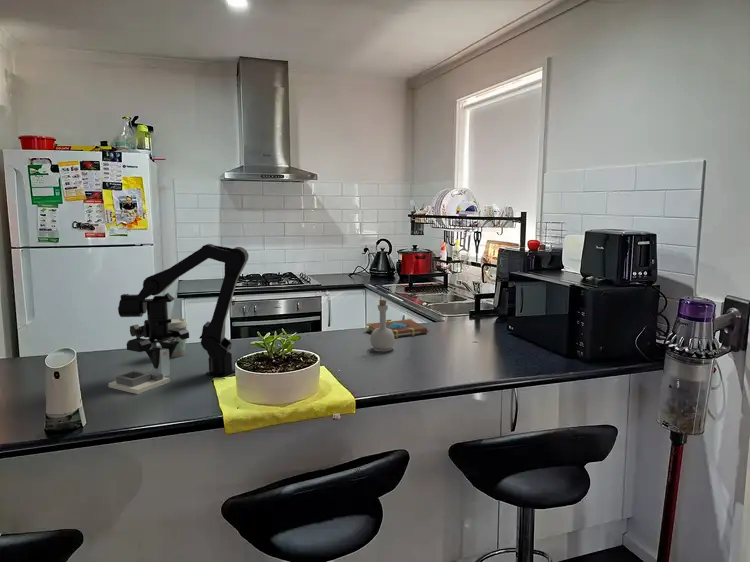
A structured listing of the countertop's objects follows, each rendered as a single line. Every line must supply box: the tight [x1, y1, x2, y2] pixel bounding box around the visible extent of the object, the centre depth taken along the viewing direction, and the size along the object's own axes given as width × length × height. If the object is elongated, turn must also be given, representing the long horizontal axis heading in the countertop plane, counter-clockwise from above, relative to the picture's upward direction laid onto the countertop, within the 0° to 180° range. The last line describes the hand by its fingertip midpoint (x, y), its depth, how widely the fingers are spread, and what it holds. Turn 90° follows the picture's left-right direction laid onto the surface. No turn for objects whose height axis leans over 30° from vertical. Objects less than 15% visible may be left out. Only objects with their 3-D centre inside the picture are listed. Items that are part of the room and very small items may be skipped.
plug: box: [151, 347, 171, 377], centre depth 162 cm, size 4×3×8 cm
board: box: [108, 370, 171, 395], centre depth 153 cm, size 12×11×3 cm
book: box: [365, 318, 431, 339], centre depth 215 cm, size 16×25×5 cm, turn 115°
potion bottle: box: [369, 299, 396, 353], centre depth 189 cm, size 9×9×18 cm
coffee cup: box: [168, 317, 188, 358], centre depth 182 cm, size 8×9×12 cm
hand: (160, 366), depth 162 cm, fingers closed on plug, 3 cm apart
